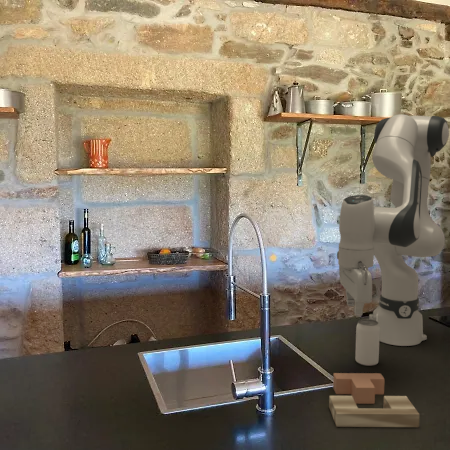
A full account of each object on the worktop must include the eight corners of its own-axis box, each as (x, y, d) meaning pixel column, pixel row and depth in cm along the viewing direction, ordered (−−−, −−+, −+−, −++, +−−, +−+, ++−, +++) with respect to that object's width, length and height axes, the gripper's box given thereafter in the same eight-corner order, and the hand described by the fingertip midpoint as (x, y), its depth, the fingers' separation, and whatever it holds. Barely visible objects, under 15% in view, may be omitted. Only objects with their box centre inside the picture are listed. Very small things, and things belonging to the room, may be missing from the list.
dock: (329, 407, 118) (329, 395, 117) (405, 408, 117) (406, 396, 117) (336, 426, 109) (336, 413, 109) (418, 427, 109) (419, 414, 108)
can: (379, 367, 141) (381, 326, 139) (355, 365, 142) (357, 324, 140) (377, 358, 147) (378, 319, 145) (354, 356, 148) (355, 317, 147)
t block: (333, 388, 128) (333, 373, 128) (380, 388, 128) (380, 373, 127) (340, 403, 120) (340, 387, 119) (390, 403, 119) (390, 387, 119)
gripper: (379, 266, 118) (377, 323, 120) (358, 251, 138) (356, 299, 140) (353, 266, 118) (351, 322, 120) (335, 251, 139) (334, 299, 140)
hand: (354, 310), depth 130 cm, fingers open, 7 cm apart
